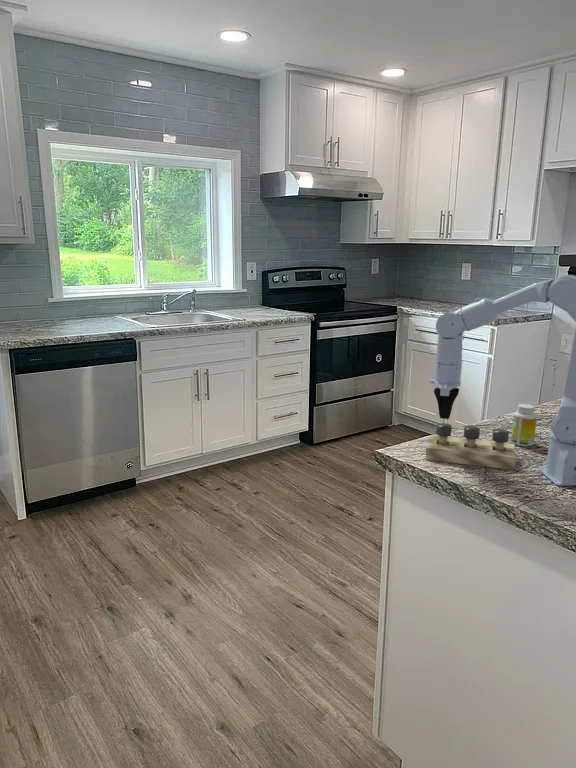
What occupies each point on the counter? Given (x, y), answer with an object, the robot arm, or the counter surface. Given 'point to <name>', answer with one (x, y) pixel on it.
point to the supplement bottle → (524, 425)
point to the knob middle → (471, 435)
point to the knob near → (500, 438)
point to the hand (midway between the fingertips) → (444, 418)
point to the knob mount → (471, 453)
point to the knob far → (443, 432)
